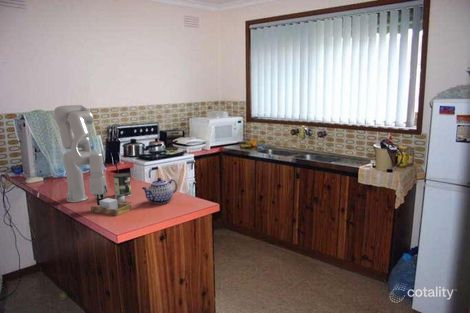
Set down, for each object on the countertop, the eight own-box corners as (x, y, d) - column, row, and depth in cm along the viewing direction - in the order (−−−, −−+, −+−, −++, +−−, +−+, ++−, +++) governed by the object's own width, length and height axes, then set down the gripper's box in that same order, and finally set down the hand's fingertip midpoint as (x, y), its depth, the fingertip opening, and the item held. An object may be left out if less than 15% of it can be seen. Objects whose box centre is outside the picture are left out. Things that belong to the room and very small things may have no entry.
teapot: (171, 194, 246) (170, 172, 243) (185, 199, 234) (183, 176, 232) (136, 203, 229) (134, 179, 226) (149, 208, 218) (147, 183, 215)
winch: (109, 204, 228) (108, 197, 227) (118, 201, 235) (118, 194, 234) (122, 206, 224) (121, 199, 223) (131, 202, 231) (130, 195, 230)
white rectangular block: (100, 210, 217) (99, 200, 216) (108, 207, 222) (107, 198, 221) (110, 212, 213) (109, 202, 212) (118, 209, 218) (117, 199, 217)
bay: (90, 211, 216) (90, 206, 216) (105, 205, 226) (104, 200, 226) (117, 215, 208) (116, 210, 207) (131, 209, 218) (130, 204, 217)
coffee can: (134, 193, 251) (132, 173, 249) (126, 198, 241) (125, 176, 239) (120, 193, 253) (118, 172, 251) (112, 197, 243) (110, 176, 241)
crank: (119, 197, 226) (118, 188, 225) (116, 196, 228) (115, 188, 227) (130, 192, 235) (130, 184, 234) (127, 192, 236) (126, 184, 235)
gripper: (82, 174, 216) (86, 205, 220) (102, 176, 210) (105, 208, 213) (92, 172, 223) (95, 201, 226) (111, 173, 217) (114, 204, 220)
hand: (100, 204), depth 220 cm, fingers closed
